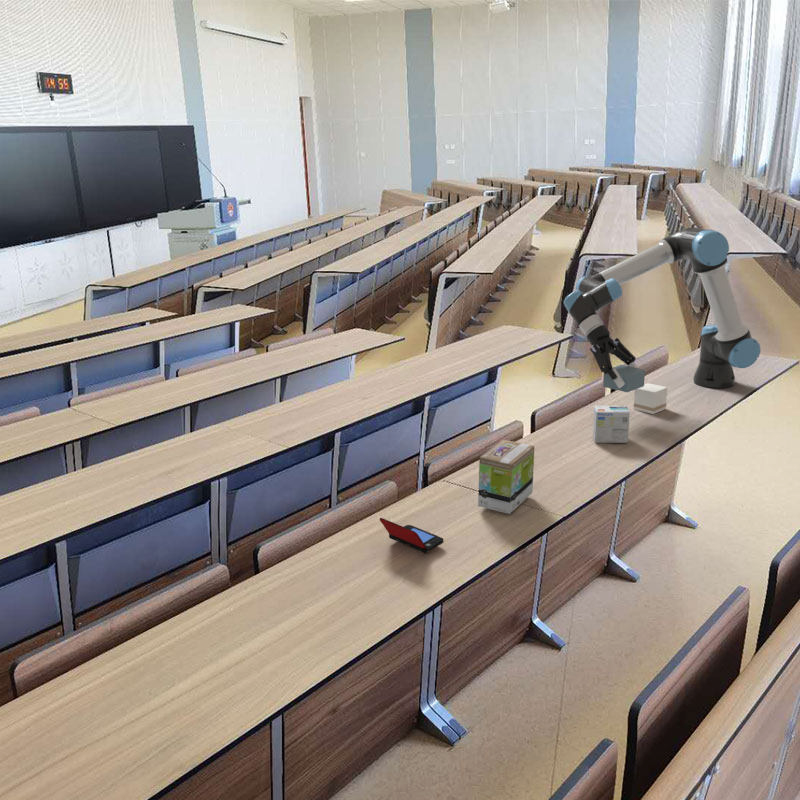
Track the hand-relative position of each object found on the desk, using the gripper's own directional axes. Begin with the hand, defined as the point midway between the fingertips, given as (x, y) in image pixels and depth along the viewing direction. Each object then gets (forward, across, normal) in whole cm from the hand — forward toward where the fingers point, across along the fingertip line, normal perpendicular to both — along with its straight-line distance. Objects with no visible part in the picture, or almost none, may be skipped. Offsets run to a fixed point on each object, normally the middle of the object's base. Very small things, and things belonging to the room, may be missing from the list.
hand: (631, 382), depth 264 cm
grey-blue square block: (-1, 0, -4) cm, 4 cm away
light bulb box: (+14, +18, -7) cm, 24 cm away
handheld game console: (+19, +110, -2) cm, 112 cm away
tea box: (+19, +75, -2) cm, 78 cm away
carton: (+8, -16, -12) cm, 22 cm away
